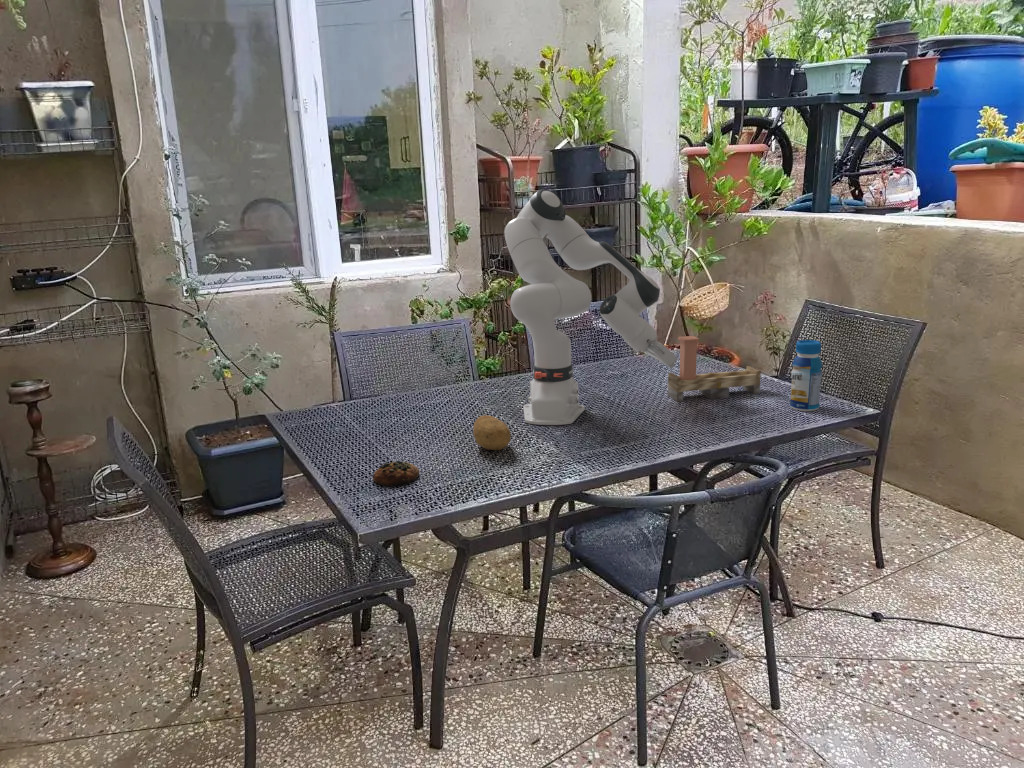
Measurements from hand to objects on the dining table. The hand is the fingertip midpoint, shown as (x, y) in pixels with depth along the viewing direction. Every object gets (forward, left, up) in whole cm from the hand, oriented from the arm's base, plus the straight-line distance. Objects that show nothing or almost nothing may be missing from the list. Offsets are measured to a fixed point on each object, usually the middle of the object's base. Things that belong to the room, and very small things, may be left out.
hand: (671, 365), depth 232 cm
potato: (-49, +47, -11) cm, 69 cm away
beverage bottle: (-8, -38, -11) cm, 41 cm away
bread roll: (-71, +67, -11) cm, 98 cm away
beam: (+5, -14, -11) cm, 18 cm away
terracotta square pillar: (+2, -5, -5) cm, 8 cm away
